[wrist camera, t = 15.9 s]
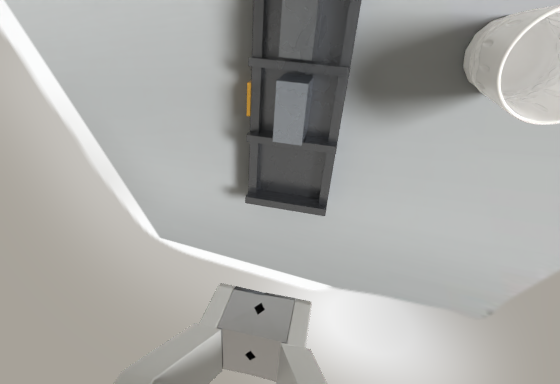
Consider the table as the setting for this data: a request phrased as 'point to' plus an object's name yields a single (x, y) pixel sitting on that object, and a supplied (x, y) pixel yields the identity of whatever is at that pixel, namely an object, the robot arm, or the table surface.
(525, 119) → the white cup
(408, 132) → the table surface
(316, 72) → the rack
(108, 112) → the table surface
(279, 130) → the grey upright block
